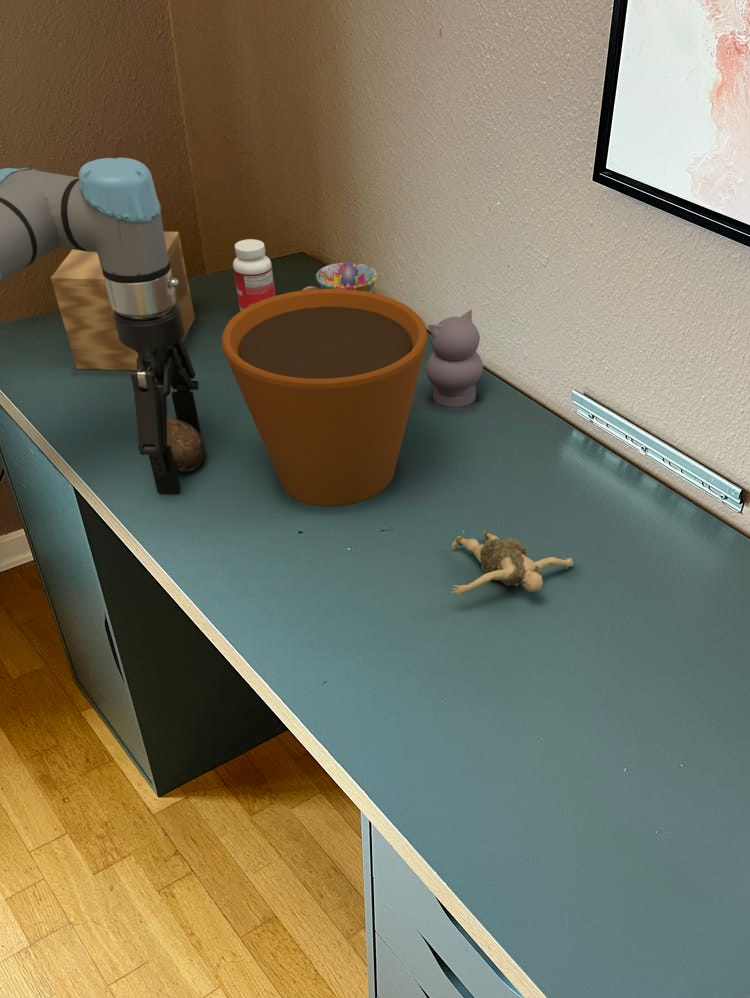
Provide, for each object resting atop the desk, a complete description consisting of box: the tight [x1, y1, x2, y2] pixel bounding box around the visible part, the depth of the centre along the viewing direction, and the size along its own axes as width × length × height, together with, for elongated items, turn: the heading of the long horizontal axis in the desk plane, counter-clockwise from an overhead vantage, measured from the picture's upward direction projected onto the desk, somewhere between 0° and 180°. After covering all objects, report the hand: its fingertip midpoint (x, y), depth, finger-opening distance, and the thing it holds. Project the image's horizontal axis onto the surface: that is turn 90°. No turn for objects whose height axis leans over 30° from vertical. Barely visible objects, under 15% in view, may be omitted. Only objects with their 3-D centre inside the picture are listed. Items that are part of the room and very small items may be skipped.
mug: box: [301, 262, 378, 293], centre depth 149 cm, size 12×9×11 cm
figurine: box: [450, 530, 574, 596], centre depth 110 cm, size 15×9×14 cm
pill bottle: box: [232, 238, 276, 312], centre depth 155 cm, size 6×6×11 cm
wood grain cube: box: [50, 230, 196, 371], centre depth 145 cm, size 14×18×14 cm
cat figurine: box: [425, 309, 484, 408], centre depth 136 cm, size 8×8×12 cm
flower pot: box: [221, 288, 428, 507], centre depth 118 cm, size 24×24×20 cm
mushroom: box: [167, 417, 206, 472], centre depth 124 cm, size 8×8×6 cm
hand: (180, 462), depth 126 cm, fingers open, 12 cm apart
